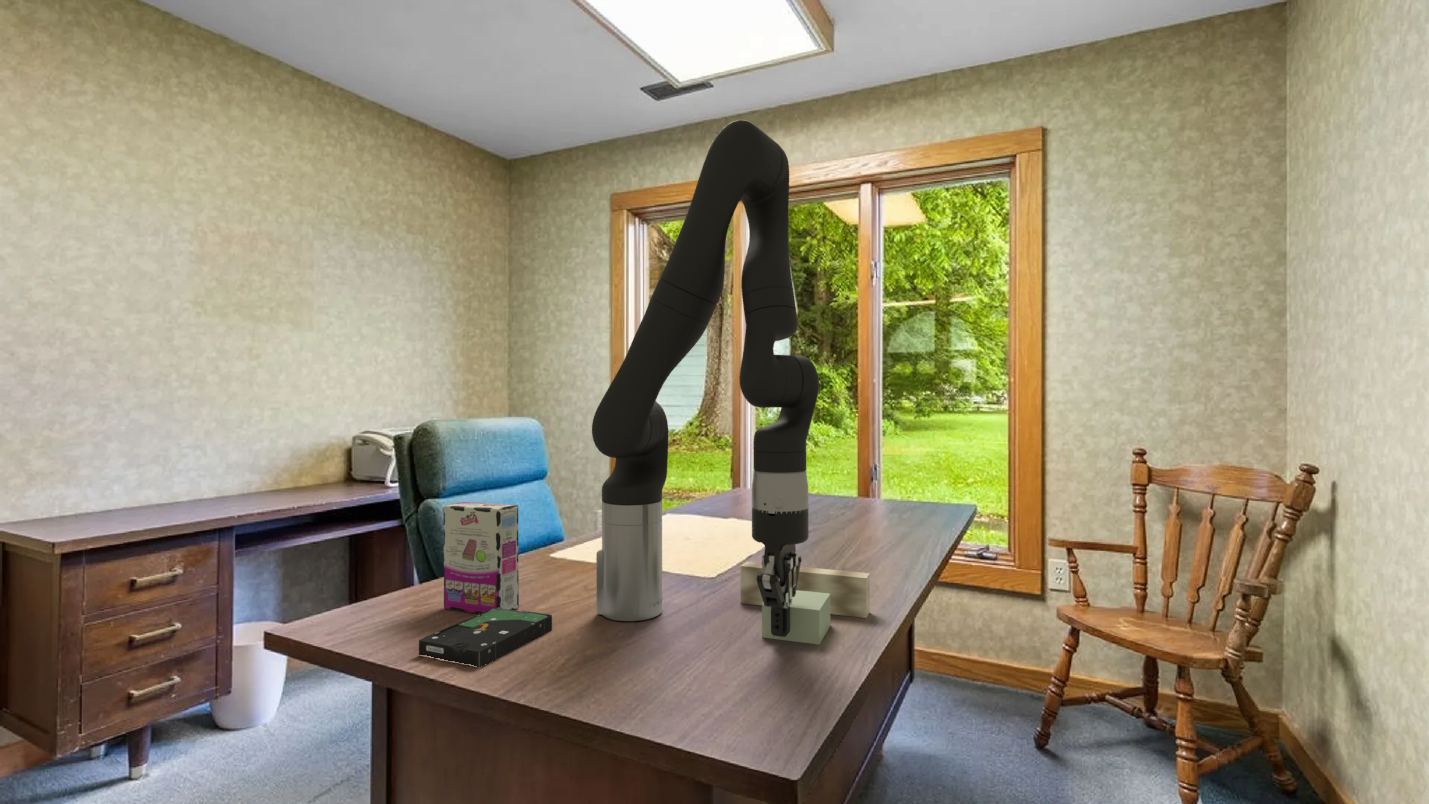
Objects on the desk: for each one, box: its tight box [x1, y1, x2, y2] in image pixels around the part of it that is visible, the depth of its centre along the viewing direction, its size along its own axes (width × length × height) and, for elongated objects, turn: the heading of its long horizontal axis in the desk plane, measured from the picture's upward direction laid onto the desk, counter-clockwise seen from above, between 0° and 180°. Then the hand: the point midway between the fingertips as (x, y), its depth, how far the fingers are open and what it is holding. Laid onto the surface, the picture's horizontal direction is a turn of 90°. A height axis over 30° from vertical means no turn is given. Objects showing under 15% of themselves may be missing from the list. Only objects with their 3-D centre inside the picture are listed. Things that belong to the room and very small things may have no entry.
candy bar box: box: [442, 501, 520, 615], centre depth 104 cm, size 11×5×16 cm, turn 68°
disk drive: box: [418, 607, 553, 667], centre depth 90 cm, size 10×3×15 cm
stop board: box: [740, 561, 871, 619], centre depth 105 cm, size 20×3×6 cm, turn 68°
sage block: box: [761, 590, 831, 646], centre depth 94 cm, size 8×8×5 cm
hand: (780, 634), depth 88 cm, fingers closed
